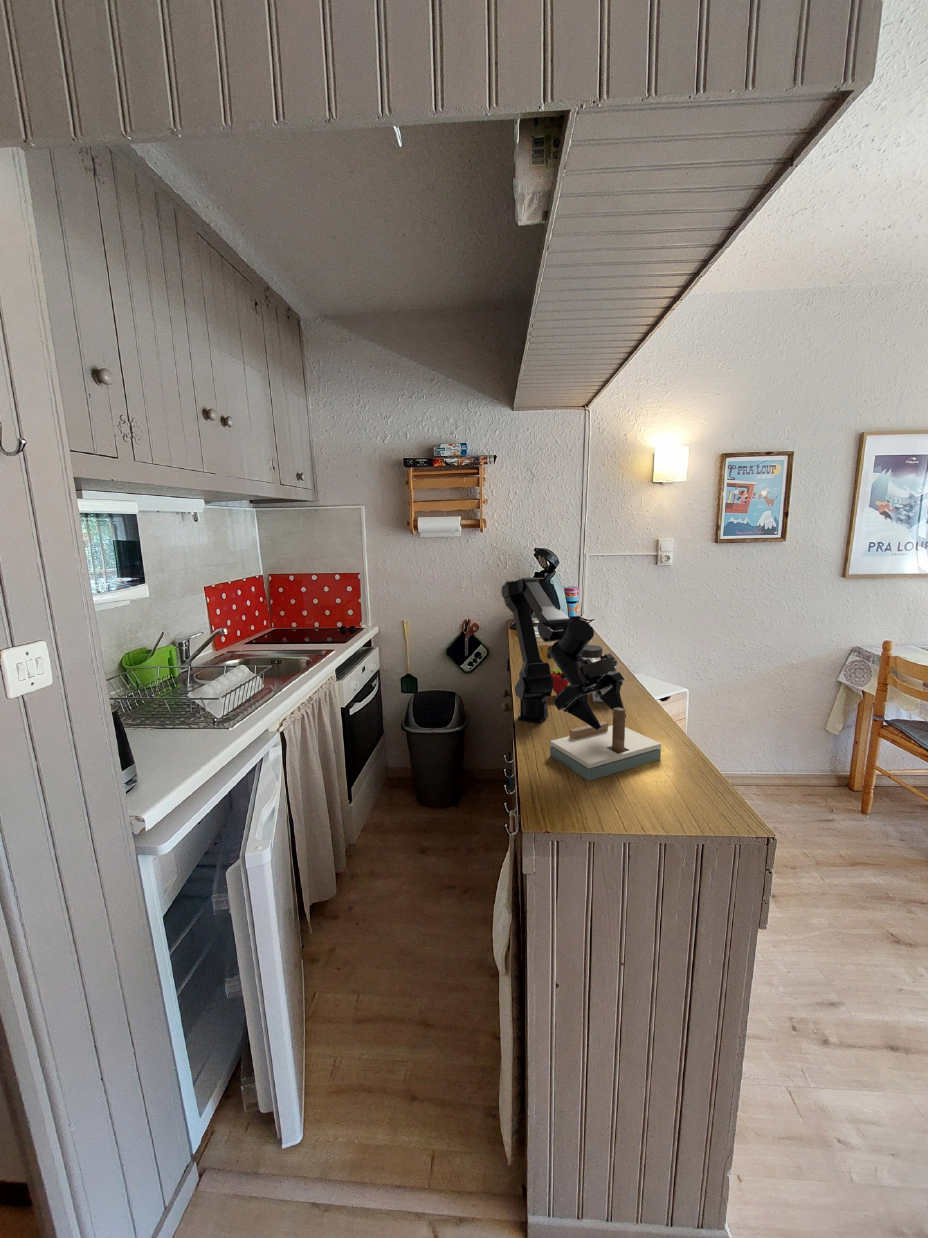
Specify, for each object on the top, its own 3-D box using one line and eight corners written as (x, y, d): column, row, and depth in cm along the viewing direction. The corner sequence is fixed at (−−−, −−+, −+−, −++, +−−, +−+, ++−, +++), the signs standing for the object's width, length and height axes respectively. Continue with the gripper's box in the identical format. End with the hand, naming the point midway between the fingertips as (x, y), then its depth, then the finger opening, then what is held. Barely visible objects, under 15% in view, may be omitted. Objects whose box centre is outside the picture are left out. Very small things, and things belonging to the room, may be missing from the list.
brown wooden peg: (609, 764, 108) (610, 708, 106) (617, 761, 109) (619, 706, 107) (617, 768, 106) (619, 712, 103) (626, 766, 107) (628, 710, 105)
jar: (599, 678, 170) (600, 644, 168) (605, 686, 162) (606, 650, 160) (572, 679, 170) (573, 644, 168) (578, 686, 162) (578, 650, 160)
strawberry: (550, 700, 149) (550, 668, 147) (547, 692, 156) (547, 661, 155) (570, 700, 149) (571, 668, 147) (566, 692, 156) (566, 661, 154)
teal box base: (550, 756, 112) (550, 746, 112) (617, 738, 121) (618, 729, 120) (588, 781, 101) (588, 770, 100) (660, 759, 109) (660, 749, 109)
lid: (550, 745, 112) (550, 733, 111) (618, 727, 120) (618, 716, 120) (588, 768, 100) (589, 755, 100) (660, 747, 109) (661, 735, 108)
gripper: (565, 650, 102) (609, 715, 96) (618, 636, 114) (661, 694, 107) (536, 679, 110) (576, 741, 103) (589, 664, 121) (627, 719, 115)
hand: (612, 723), depth 107 cm, fingers open, 9 cm apart
